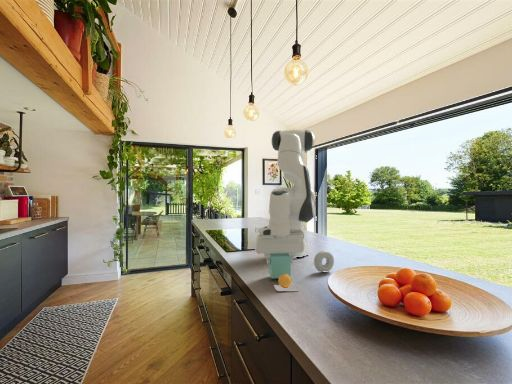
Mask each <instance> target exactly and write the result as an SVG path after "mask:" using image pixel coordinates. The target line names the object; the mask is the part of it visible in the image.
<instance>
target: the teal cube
mask: <svg viewBox="0 0 512 384" xmlns="http://www.w3.org/2000/svg"><path fill="white" fill-rule="evenodd" d="M268 259H270V260H271V264H267V265H268V266H267V267H268V274H269V276H270V278H271V279H279V277H280V276H281V275H282V274H287V275H289V276H290V277H291V274H292V273H291V271H292V270H291V269H292V268H291V266H292V263H291V256H290V255H289V254H288V253H268ZM291 278H292V277H291Z"/></svg>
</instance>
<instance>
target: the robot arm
mask: <svg viewBox="0 0 512 384" xmlns="http://www.w3.org/2000/svg"><path fill="white" fill-rule="evenodd" d="M315 142H316V139H315V134H314V132H313V131H312V130H309V129H305V130H303V129H289V130H288V129H285V130H276V131H274V132H273V134H272V136H271V146H272V148H273V150H274V151H277V152H278V153H277V166H278V168H279V170H280V171H282V172H283V178H284V179H285V181H286V180H287V182H289V183H291V184H293V187H277V188H273V189H272V190H271V192H270V194H269V206H268V207H269V208H268V213H269V220H268V225H266V226H263V227H260V228H258V229H257V231H258V232H257V233H258V234H257V236H256V238H255V245H254V249H255V250H254V251H255V252H256V253H257V254H263V256H264V257H265V259H266V265H268V264H271V260H270V259H269V253H288V254H289V255H290V256H291V264H293V263H294V262H293V260H294V259H295V258H294V257H295V256H300V255H303V254H306V253H307V244H306V240H305V239H304V238H305V232H304V231H303V223H309V222H310V221H311V220H313V218H315V214H316V208H315V204H314V203H315V201H316V197H317V196H316V192H315V191H314V190H313V188H312V187H311V178H310V172H309V168H308V167H307V165H306V164H305V163H304V162H305V161H304V159H305V158H304V153H306V154H307V152H309V151H311V150H312V149H313V147H314V145H315Z"/></svg>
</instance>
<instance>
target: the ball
mask: <svg viewBox="0 0 512 384" xmlns="http://www.w3.org/2000/svg"><path fill="white" fill-rule="evenodd" d="M277 279H278V280H277V281H278V284H279V285H280V286H281V287H283V288H288V287H289V286H290V285H291V284H293V283H292V281H293V280H292V277H290V276H289V275H287V274H282V275H281V276H280V277H279V278H277Z"/></svg>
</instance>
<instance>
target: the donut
mask: <svg viewBox="0 0 512 384" xmlns="http://www.w3.org/2000/svg"><path fill="white" fill-rule="evenodd" d="M323 259H325V261H326V262H325V264H323V263H322V262H323ZM334 263H335V259H334V256H333V255H332V253H331V252H330V251H328V250H323V249H322V250H320V251H319V252H317V253H316V254H315V256H314V259H313V264H314V267H315V269H316V270H317V271H318V272H319V271H321V272H320V273H322V272H323V271H328V272H330V271H331V270H332V269H333V266H334ZM329 270H330V271H329Z"/></svg>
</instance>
